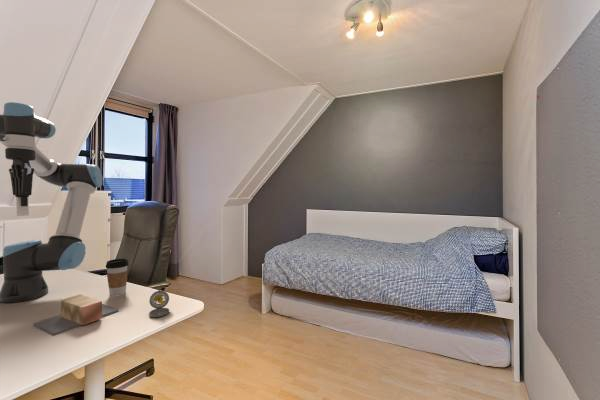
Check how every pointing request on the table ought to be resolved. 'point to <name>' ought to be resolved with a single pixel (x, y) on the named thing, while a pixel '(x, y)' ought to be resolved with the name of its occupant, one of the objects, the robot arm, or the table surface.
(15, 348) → the table surface
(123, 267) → the coffee cup
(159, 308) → the pocket watch
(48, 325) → the rubber mat
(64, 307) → the oak block
